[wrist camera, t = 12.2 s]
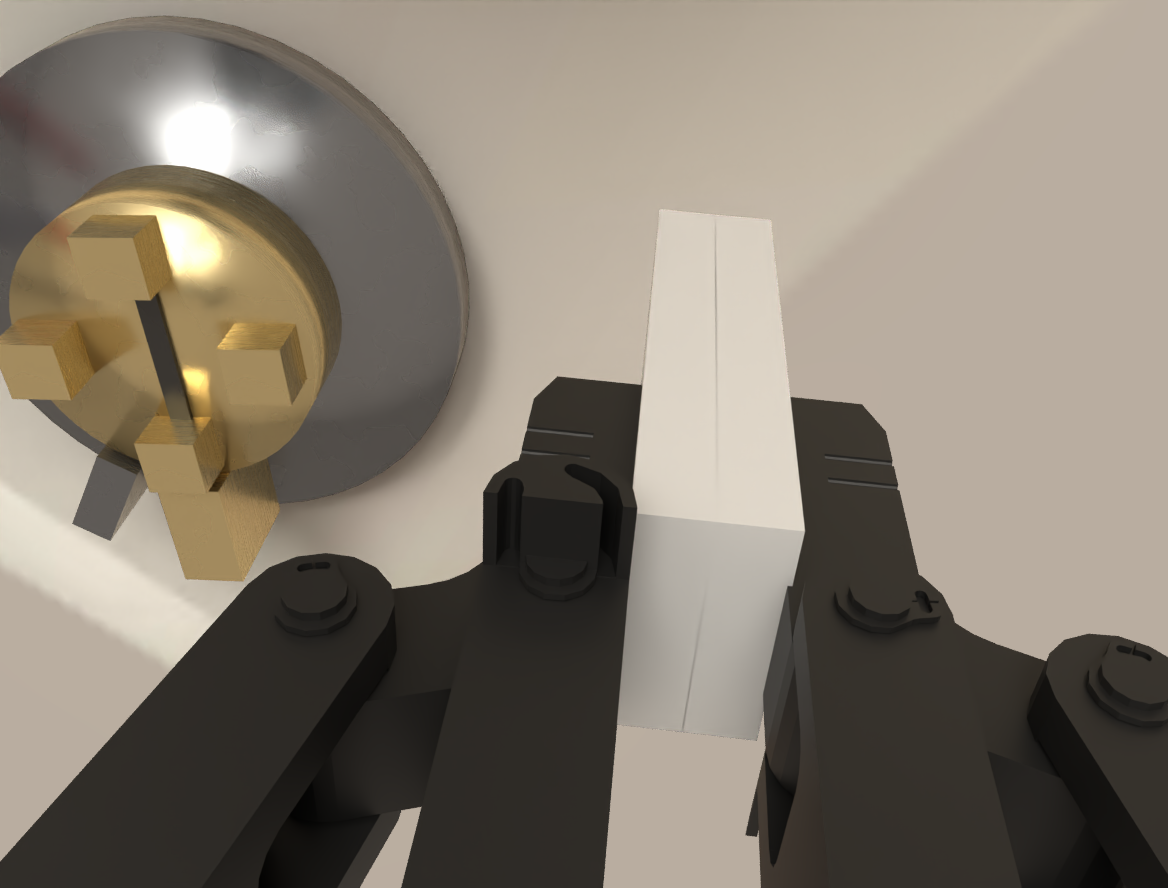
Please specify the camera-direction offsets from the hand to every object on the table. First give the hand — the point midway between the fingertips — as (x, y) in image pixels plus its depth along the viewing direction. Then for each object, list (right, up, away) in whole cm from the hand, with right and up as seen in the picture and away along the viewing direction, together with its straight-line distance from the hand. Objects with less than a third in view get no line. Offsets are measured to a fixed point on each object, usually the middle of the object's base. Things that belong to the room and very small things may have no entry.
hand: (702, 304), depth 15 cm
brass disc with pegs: (-16, +2, +28) cm, 32 cm away
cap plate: (-16, +5, +29) cm, 33 cm away
